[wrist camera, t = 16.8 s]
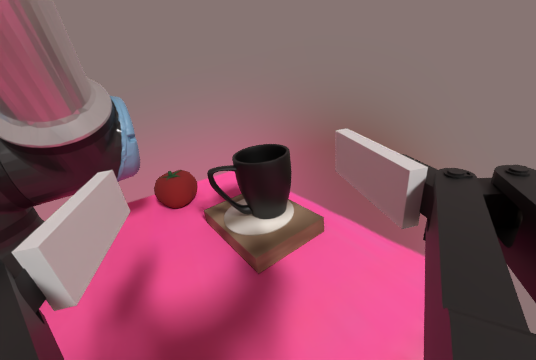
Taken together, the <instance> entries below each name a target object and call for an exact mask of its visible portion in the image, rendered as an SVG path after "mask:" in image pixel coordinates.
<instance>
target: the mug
mask: <svg viewBox="0 0 536 360" xmlns="http://www.w3.org/2000/svg"><path fill="white" fill-rule="evenodd" d="M232 160H233V166H221V167H216V168H212V169H210V170H209V171H208V173H207V174H208V179H209V182H210V184H211V186H212V188H213V189H214V190H215V191H216V192H217V193H218V194H219V195H220V196H222V197H223V198H224V199H225V200H226V201H227V202H228V203H230V204H231V205H232V206H233V207H234V208H235V209H237V210H238V211H239V212H241V213H243V214H253V216H255V217H256V218H259V219H273V218H276V217H279V216H281V215H282V214H283V213H284V212H285V211H286V208H287V202H288V198H289V193H290V186H291V162H290V152H289V149H288V148H287V147H286V146H283V145H277V144H264V145H256V146H252V147H248V148H245V149H242V150H240V151H238V152H237V153H235V154H234V155H233V159H232ZM218 171H235V174H236V179H237V182H238V185H239V188H240V191H241V193H242V195H243V197H244V199H245V201H246V203H247V205H241V204H238V203H237V202H235V201H234V200H232V199H231V198H230V197H229V196H228V195H226V194H225V193H224V192H223V191H222V190H221V189H220V188H219V186H218V185H217V184H216V182H215V180H214V178H213V174H214V173H215V172H218Z"/></svg>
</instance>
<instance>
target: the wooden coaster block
mask: <svg viewBox="0 0 536 360" xmlns="http://www.w3.org/2000/svg"><path fill="white" fill-rule="evenodd" d="M231 199H232V200H234V201H235V202H237V203H238V204H241V205H247V203H246V201H245V199H244V197H243V195H242V194H240V195H238V196H236V197H233V198H231ZM204 213H205V216H206V220H207V223H208V224H209V225H210V226H211V227H212V228H213V229H214V230H215V231H216V232H217V233H218V234H219V235H220V236H221V237H222V238H223V239H224V240H225V241H226V242H227V243H228V244H229V245H230V246H231V247H232V248H233V249H234V250H235V251H236V252H237V253H238V254H239V255H240V256H241V257H242V258H243V259H244V260H245V261H246V262H247V263H248V264H249V265H250V266H251V267H252V268H253V269H254V270H255V271H256V272H257V273H258V274H259V273H261V272H262V271H264V270H265V269H267V268H268V267H270V266H271V265H273V264H274V263H276V262H277V261H279V260H281V259H282V258H284V257H285V256H287V255H288V254H290V253H291V252H293V251H294V250H296V249H298V248H299V247H301V246H302V245H304V244H305V243H307V242H308V241H310V240H311V239H313V238H314V237H316V236H318V235H319V234H321V233H322V232H324V217H322V216H320V215H318V214H316V213H314V212H312V211H310V210H308V209H306V208H304V207H302V206H301V205H299V204H297V203H295V202H293V201H291V200H289V199H288V202H287V208H286V211H285V212H284V213H283V214H282V215H281V216H279V217H276V218H273V219H259V218H256V217H255V216H253V214H243V213H241V212H239V211H238V210H237V209H235V208H234V207H233V206H232V205H231V204H230V203H228V202H227V201H224V202H222V203H220V204H217V205H215V206H213V207H210V208H208V209H206V210H204Z"/></svg>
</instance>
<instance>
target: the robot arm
mask: <svg viewBox="0 0 536 360" xmlns="http://www.w3.org/2000/svg"><path fill="white" fill-rule="evenodd" d="M335 139H336V140H335V144H336V146H335V147H336V148H335V149H336V172H337V173H338V174H339V175H341V176H342V177H343V178H344V179H345V180H346V181H348V182H349V183H350V184H351V185H352V186H353V187H354V188H356V189H357V190H358V191H359V192H360V193H361V194H362V195H364V196H365V197H366V198H367V199H368V200H369V201H370V202H372V203H373V204H374V205H375V206H376V207H377V208H378V209H380V210H381V211H382V212H383V213H384V214H385V215H386V216H388V217H389V218H390V219H391V220H392V221H393V222H394V223H396V224H397V225H398V226H399V227H400V228H401V229H404V228H409V227H413V226H417V225H418V223H419V216H420V213H421V214H422V215H424V216H425V217H426V218H427V222H426V228H425V233H424V238H423V240H425V241H426V245H425V312H424V360H536V334H533V333H531V332H530V331H529V328H528V326H527V323H526V320H525V317H524V314H523V311H522V308H521V305H520V302H519V300H518V297H517V293H516V291H515V288H514V285H513V282H512V279H511V276H510V273H509V270H508V267H507V265H508V266H509V267H510V269H511V270H512V272H513V273H514V274H515V276H516V277H517V278H518V280H519V281H520V282H521V284H522V285H523V286H524V288H525V289H526V290H527V292H528V293H529V295H530V296H531V297H532V299H533V300H534V301H535V303H536V170H534V169H531V168H527V167H526V166H520V165H503V166H498V167H496V168H495V170H494V173H493V177H492V178H477V177H476V176H475V174H473V173H471V172H469V171H466V170H463V169H457V168H444V169H440V170H437V169H435V168H432V167H430V166H428V165H426V164H424V163H421V162H420V161H418V160H414V159H413V158H411V157H409V156H407V155H404V154H399V153H397V152H395V151H393V150H391V149H389V148H387V147H385V146H382V145H380V144H378V143H376V142H374V141H372V140H370V139H368V138H366V137H364V136H362V135H360V134H357V133H355V132H353V131H351V130H349V129H342V130H336V131H335ZM139 168H140V157H139V149H138V145H137V141H136V138H135V134H134V128H133V125H132V122H131V118H130V115H129V113H128V110H127V108H126V106H125V103H124V102H123V100H122V99H121V98H119V97H113V96H109V94H108V92H107V91H106V90H105V89H104V88H103V86H101V85H100V84H99V83H97V82H95V81H93V80H91V79H89V78H87V77H86V75H85V73H84V70H83V68H82V66H81V63H80V61H79V59H78V56H77V54H76V52H75V50H74V47H73V45H72V43H71V40H70V38H69V36H68V33H67V31H66V29H65V27H64V24H63V22H62V20H61V18H60V15H59V13H58V11H57V8H56V6H55V4H54V1H53V0H0V360H64V358H63V356H62V353H61V351H60V349H59V347H58V345H57V343H56V341H55V338H54V336H53V334H52V332H51V330H50V328H49V325H48V323H47V321H46V319H45V317H44V315H43V314H42V313H41V311H40V310H39V308H40V307H41V305H42V304H43V302H44V301H45V300H47V302H48V303H49V305H50V306H51V307H52V309H53V310H54V311H55V310H60V309H64V308H68V307H72V306H77V304H78V302H79V300H80V299H81V297H82V295H83V293H84V292H85V290H86V288H87V286H88V285H89V283H90V281H91V279H92V278H93V276H94V274H95V272H96V271H97V269H98V267H99V265H100V264H101V262H102V260H103V259H104V257H105V255H106V253H107V252H108V250H109V248H110V246H111V245H112V243H113V241H114V239H115V238H116V236H117V234H118V232H119V231H120V229H121V227H122V225H123V224H124V222H125V220H126V218H127V217H128V215H129V213H130V209H129V207H128V205H127V202H126V200H125V198H124V195H123V193H122V191H121V188H120V186H119V183H118V181H120V180H123V179H126V178H129V177H132V176H134V175H135V174H136V173H137V172H138V170H139ZM71 195H73V196H72V197H71V198H70V199H69V200H68V201H67V202H66V203H65V204H63V205H62V206H61V207H60V208H59V209H58V210H57V211H56V212H55V213H54V214H53V215H52V216H50V217H49V218H48V219H47V220H46V221H43V220H42V219H41V218H40V217H39V215H38V214H37V212H36V211H35V209H34V208H33V206H36V205H40V204H42V203H46V202H50V201H53V200H57V199H60V198H63V197H67V196H71Z"/></svg>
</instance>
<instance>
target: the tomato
mask: <svg viewBox="0 0 536 360" xmlns="http://www.w3.org/2000/svg"><path fill="white" fill-rule="evenodd" d="M154 191H155V195H156V197H157V198H158V200H159V201H160V202H161V203H163V204H164V205H167V206H169V207H172V208H181V207H183V206H184V205H186V204H188V203H190V202H191V201H192V199H193V198H194V197H195V195H196V192H197V181H196V179H195V178H194V177H193V176H192V175H191V174H190V173H189V172H187V171H183V170H178V171H175V172H171V171H168V173H166V174H164V175H162V176H161V177H159V178H158V179H157V180H156V183H155V187H154Z"/></svg>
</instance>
